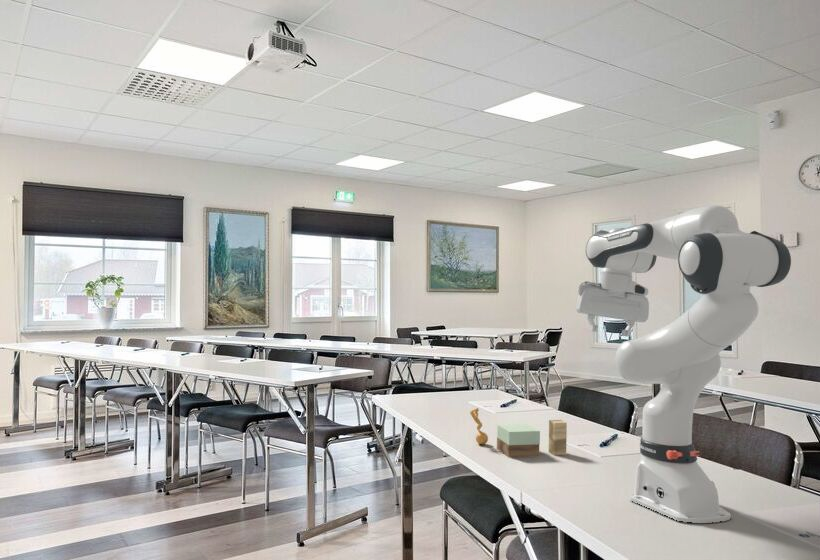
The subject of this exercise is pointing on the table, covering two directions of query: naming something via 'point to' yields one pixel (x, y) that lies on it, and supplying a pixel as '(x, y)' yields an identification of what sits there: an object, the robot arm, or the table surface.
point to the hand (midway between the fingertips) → (609, 333)
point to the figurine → (481, 436)
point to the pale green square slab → (518, 434)
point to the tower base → (517, 449)
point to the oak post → (557, 437)
